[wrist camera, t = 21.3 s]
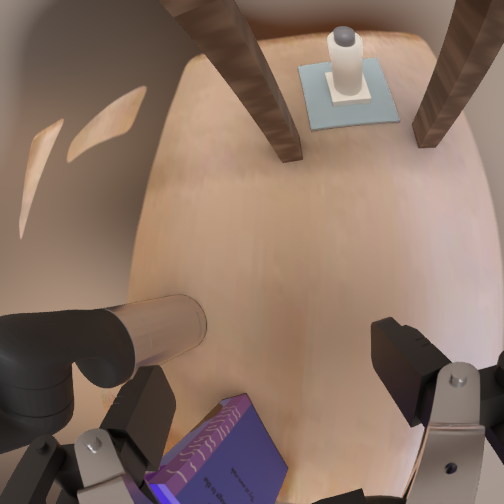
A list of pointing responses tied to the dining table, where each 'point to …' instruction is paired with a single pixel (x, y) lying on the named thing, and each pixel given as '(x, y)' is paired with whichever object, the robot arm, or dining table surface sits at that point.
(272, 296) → the dining table surface
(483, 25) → the archway
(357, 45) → the white tall cylinder
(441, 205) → the dining table surface
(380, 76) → the mat
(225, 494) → the cereal box
